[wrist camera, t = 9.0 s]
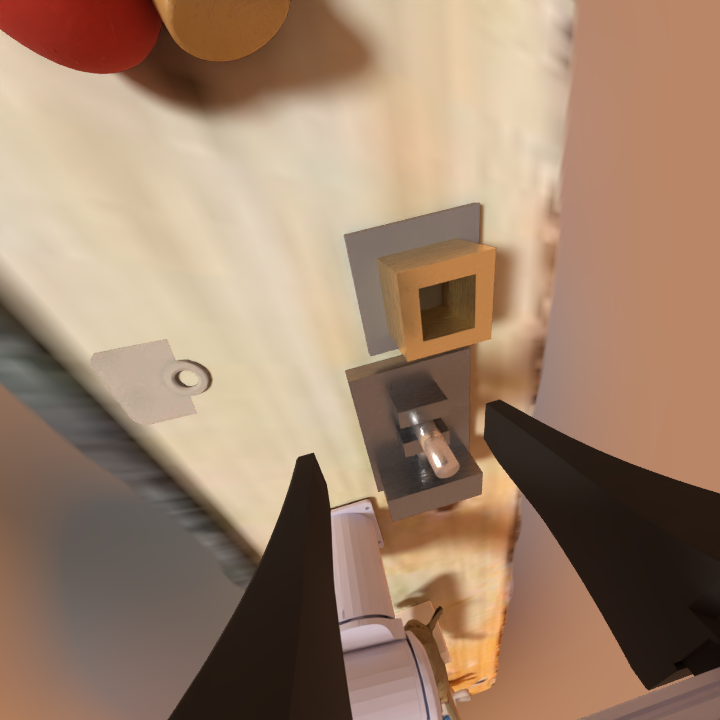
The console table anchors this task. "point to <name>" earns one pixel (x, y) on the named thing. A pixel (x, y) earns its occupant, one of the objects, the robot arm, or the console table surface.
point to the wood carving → (431, 647)
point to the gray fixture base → (418, 429)
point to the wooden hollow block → (460, 296)
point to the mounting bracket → (149, 381)
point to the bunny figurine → (457, 698)
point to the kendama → (139, 29)
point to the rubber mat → (395, 240)
